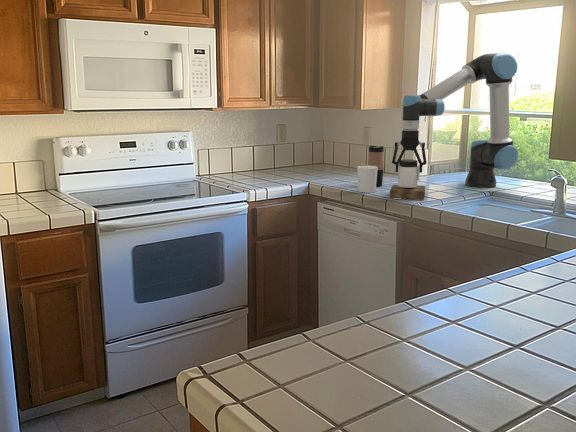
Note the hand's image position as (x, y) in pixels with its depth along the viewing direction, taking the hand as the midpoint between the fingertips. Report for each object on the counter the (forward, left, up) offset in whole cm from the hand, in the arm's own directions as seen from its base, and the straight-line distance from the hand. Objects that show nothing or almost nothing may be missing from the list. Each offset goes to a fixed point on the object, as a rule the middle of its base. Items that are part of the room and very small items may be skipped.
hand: (408, 179), depth 274 cm
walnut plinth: (0, 0, -8) cm, 8 cm away
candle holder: (+20, -8, -8) cm, 23 cm away
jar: (0, 0, -3) cm, 3 cm away
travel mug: (+18, -25, -8) cm, 32 cm away
